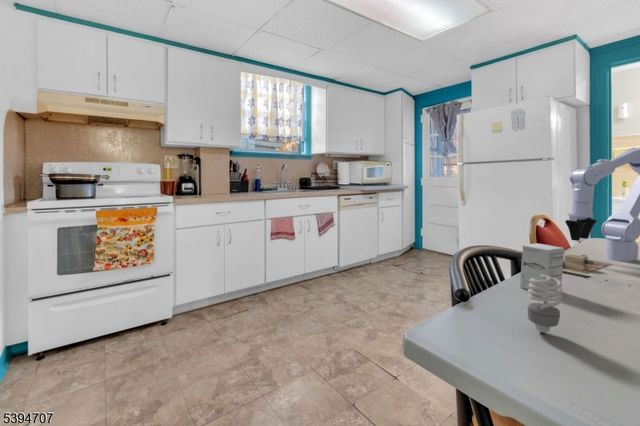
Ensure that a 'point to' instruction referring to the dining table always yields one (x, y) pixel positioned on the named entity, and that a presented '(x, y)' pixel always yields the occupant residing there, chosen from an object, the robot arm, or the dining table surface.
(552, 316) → the light bulb
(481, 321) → the dining table surface
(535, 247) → the supplement box
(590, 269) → the board
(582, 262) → the marking gauge
